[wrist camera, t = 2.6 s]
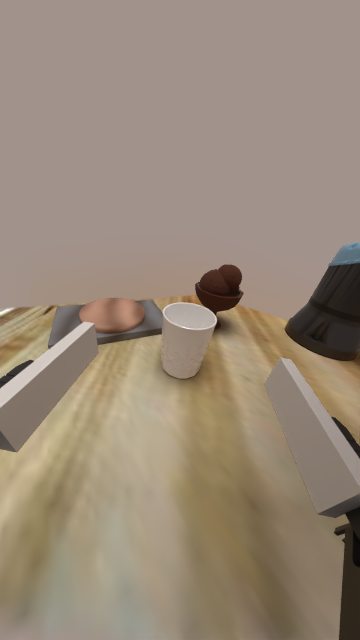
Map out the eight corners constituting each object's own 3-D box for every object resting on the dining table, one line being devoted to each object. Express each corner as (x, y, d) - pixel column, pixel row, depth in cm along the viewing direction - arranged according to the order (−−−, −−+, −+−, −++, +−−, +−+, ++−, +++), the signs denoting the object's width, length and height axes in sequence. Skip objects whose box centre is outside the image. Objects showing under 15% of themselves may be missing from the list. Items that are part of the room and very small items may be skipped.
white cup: (154, 350, 31) (158, 302, 26) (193, 347, 33) (203, 302, 28) (163, 386, 24) (170, 331, 19) (210, 378, 27) (227, 327, 22)
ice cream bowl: (221, 313, 48) (237, 260, 41) (238, 336, 39) (262, 273, 31) (186, 311, 46) (196, 255, 39) (194, 335, 37) (210, 267, 29)
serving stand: (151, 304, 47) (152, 294, 46) (171, 331, 37) (173, 320, 35) (58, 312, 37) (55, 300, 36) (50, 352, 27) (45, 338, 25)
